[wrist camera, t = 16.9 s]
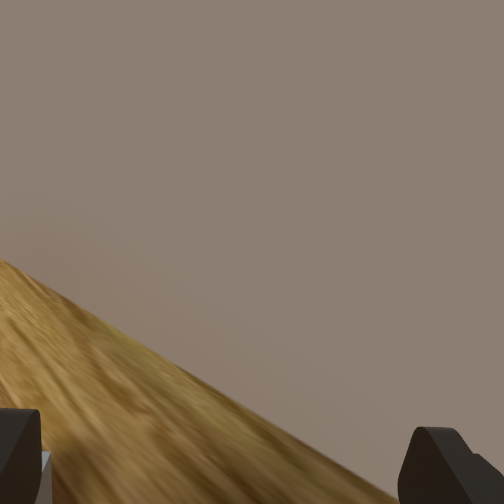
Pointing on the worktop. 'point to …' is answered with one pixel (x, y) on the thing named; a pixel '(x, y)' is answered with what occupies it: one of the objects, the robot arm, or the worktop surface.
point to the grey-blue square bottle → (45, 481)
